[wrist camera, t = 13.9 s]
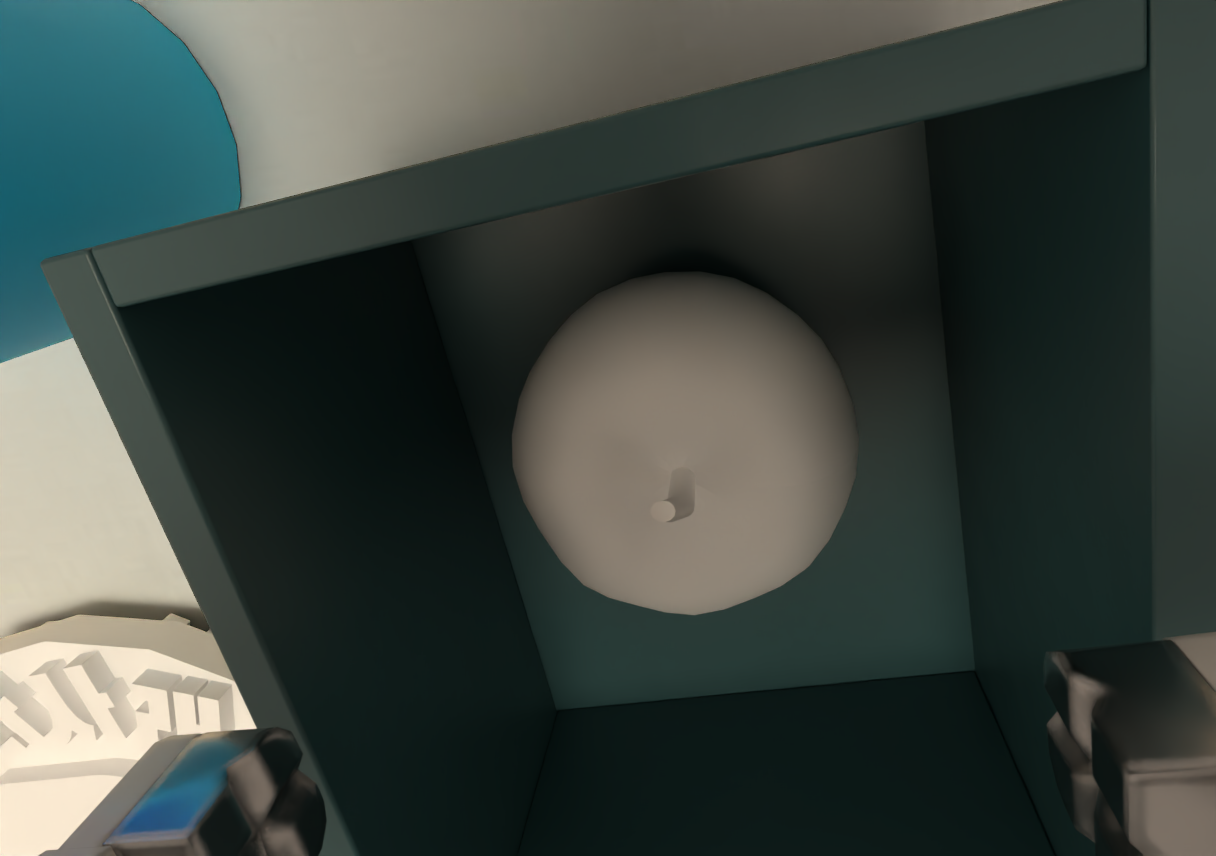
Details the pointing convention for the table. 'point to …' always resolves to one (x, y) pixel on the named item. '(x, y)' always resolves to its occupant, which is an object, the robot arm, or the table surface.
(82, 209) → the mug
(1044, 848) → the chest
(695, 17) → the table surface
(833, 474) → the plain white apple
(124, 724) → the giant coin
